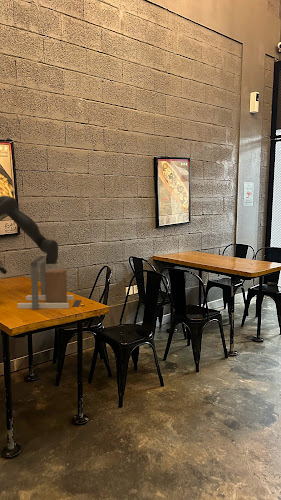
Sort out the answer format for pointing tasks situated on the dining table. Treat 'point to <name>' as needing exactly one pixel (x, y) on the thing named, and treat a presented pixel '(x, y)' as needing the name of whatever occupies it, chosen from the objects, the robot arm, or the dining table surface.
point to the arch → (34, 279)
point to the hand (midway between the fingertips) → (6, 273)
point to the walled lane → (45, 305)
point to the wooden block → (55, 286)
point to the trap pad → (76, 303)
